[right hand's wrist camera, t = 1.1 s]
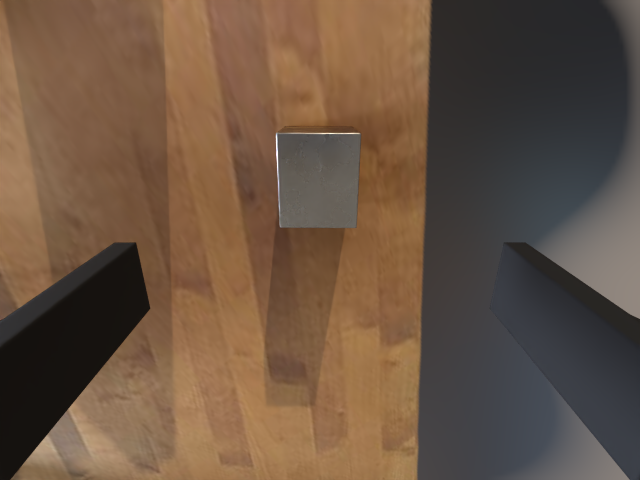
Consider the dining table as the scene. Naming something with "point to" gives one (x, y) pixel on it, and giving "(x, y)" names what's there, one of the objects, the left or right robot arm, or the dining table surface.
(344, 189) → the block
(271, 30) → the dining table surface
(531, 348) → the right robot arm
